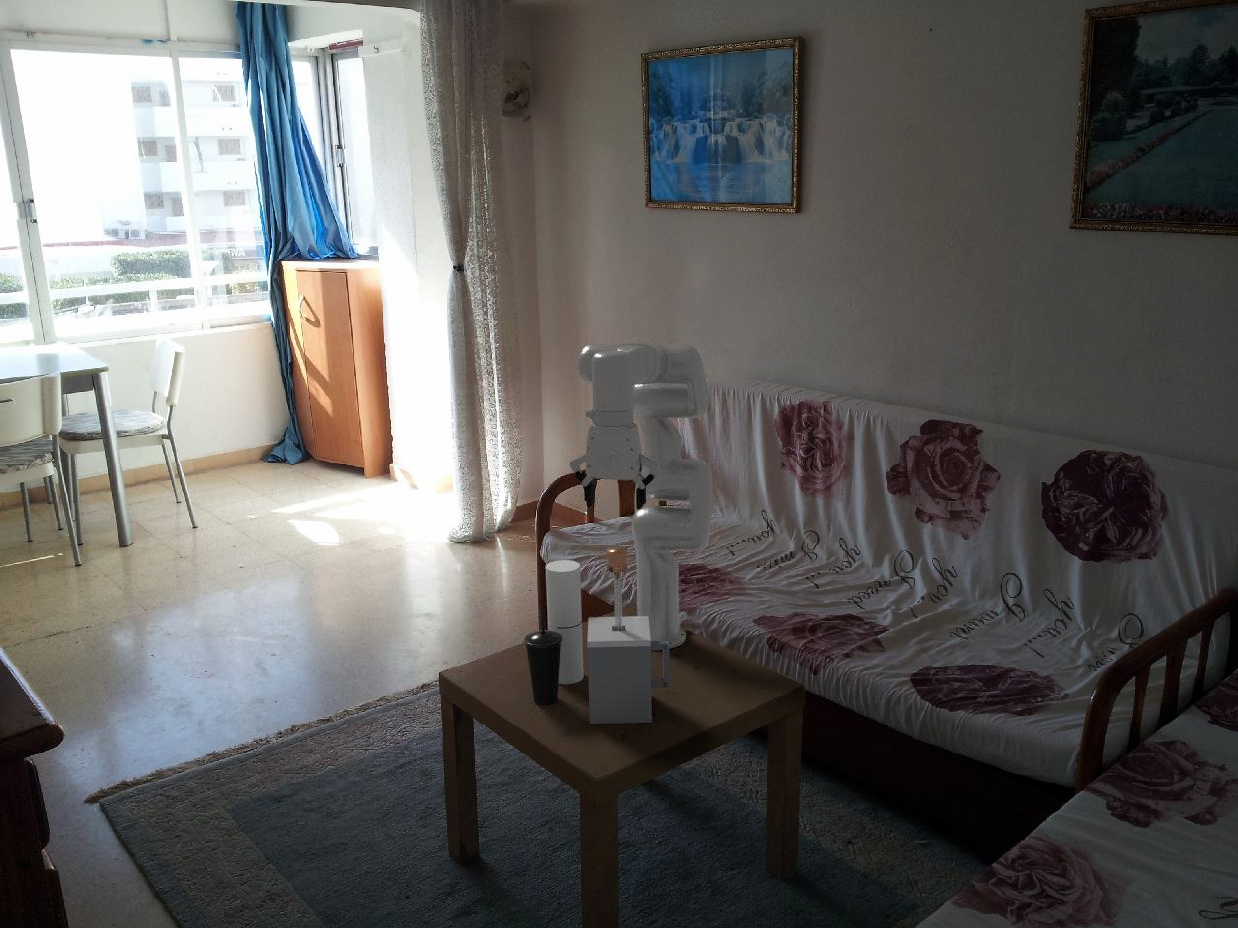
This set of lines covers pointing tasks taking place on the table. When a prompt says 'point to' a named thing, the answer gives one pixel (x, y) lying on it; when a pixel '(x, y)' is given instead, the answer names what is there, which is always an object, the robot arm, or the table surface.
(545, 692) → the drinking cup
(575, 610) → the cylindrical container
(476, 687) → the table surface
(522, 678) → the table surface
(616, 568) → the copper piston
